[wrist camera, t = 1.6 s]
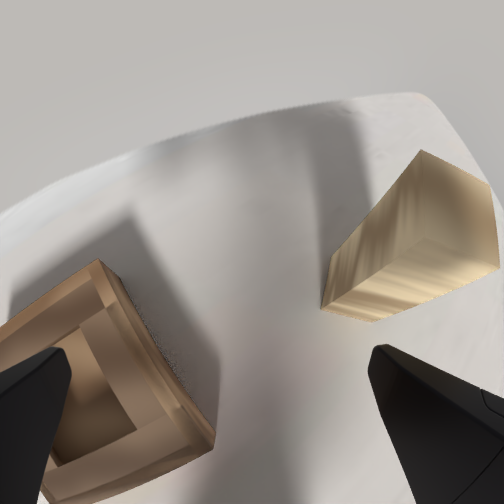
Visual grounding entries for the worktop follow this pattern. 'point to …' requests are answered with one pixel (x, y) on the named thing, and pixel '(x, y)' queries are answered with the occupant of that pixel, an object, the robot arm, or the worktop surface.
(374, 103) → the worktop surface
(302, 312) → the worktop surface
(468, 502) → the robot arm
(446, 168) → the oak block
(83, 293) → the box
